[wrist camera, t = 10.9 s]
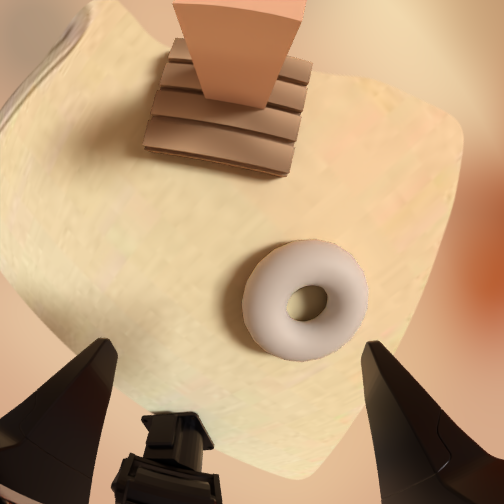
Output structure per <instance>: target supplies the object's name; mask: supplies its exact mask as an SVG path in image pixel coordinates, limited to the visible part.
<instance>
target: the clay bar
mask: <svg viewBox="0 0 504 504" xmlns="http://www.w3.org/2000/svg"><path fill="white" fill-rule="evenodd" d="M306 1H307V0H174V1H173V7H174V10H175V12H176V15H177V18H178V21H179V24H180V27H181V30H182V33H183V35H184V38H185V41H186V44H187V47H188V50H189V53H190V56H191V59H192V62H193V64H194V67H195V70H196V73H197V76H198V79H199V82H200V85H201V88H202V91H203V94H204V96H205V98H206V99H213V100H219V101H225V102H231V103H236V104H241V105H246V106H251V107H256V108H261V109H265V107H266V104H267V102H268V99H269V97H270V95H271V92H272V90H273V87H274V85H275V82H276V80H277V78H278V75H279V73H280V70H281V68H282V66H283V63H284V61H285V59H286V56H287V54H288V52H289V49H290V47H291V45H292V42H293V40H294V38H295V35H296V33H297V31H298V29H299V27H300V24H301V22H302V18H303V14H304V10H305V5H306Z"/></svg>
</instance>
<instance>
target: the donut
mask: <svg viewBox="0 0 504 504" xmlns="http://www.w3.org/2000/svg"><path fill="white" fill-rule="evenodd" d="M309 285H316V286H320V287H322V288H323V289H324V290H325V291H326V293H327V304H326V307H325V309H324V310H323V311H322V313H321V314H319V315H318V316H317V317H316V318H313V319H311V320H309V321H297V320H295V319H293V318H291V317H290V316H289V314H288V312H287V303H288V300H289V298H290V297H291V295H292V294H293V293H294V292H295V291H297V290H298V289H300V288H302V287H304V286H309ZM368 291H369V288H368V284H367V281H366V277H365V274H364V271H363V269H362V268H361V267H360V265H359V264H358V262H357V261H356V260H355V258H354V257H353V256H352V254H350V253H349V252H347V251H346V250H344V249H343V248H341V247H340V246H338V245H337V244H334V243H330V242H326V241H322V240H317V239H309V240H299V241H292V242H290V243H288V244H285V245H283V246H281V247H279V248H276V249H274V250H273V251H272V252H270V253H269V254H268V255H267V256H266V257H265V258H264V259H262V260H261V261H260V262H259V263H258V264H257V265H256V267H255V269H254V270H253V272H252V274H251V275H250V277H249V278H248V280H247V282H246V286H245V290H244V294H243V299H242V310H243V319H244V323H245V325H246V327H247V329H248V331H249V333H250V335H251V337H252V339H253V340H254V341H255V342H256V343H257V344H258V345H259V346H260V347H261V348H262V349H264V350H265V351H266V352H267V353H270V354H272V355H274V356H277V357H279V358H281V359H284V360H289V361H299V362H304V361H310V360H316V359H320V358H323V357H325V356H327V355H329V354H332V353H334V352H336V351H337V350H339V349H340V348H341V347H342V346H344V345H345V344H346V343H347V342H348V341H350V340H351V338H352V337H353V336H354V334H355V333H356V332H357V330H358V329H359V328H360V326H361V324H362V322H363V319H364V317H365V314H366V311H367V307H368Z"/></svg>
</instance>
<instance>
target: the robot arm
mask: <svg viewBox="0 0 504 504" xmlns="http://www.w3.org/2000/svg"><path fill="white" fill-rule="evenodd" d="M117 359H118V354H117V351H116V350H115V348H114V346H113V345H112V343H111V341H110V340H109V339H107V338H98V339H96V340H95V341H94V342H93V343H92V344H90V345H89V346H88V347H87V348H86V349H84V350H83V351H82V352H81V353H80V354H78V355H77V356H76V357H75V358H74V359H72V360H71V361H70V362H69V363H68V364H66V365H65V366H64V367H63V368H62V369H61V370H59V371H58V372H57V373H56V374H55V375H54V376H52V377H51V378H50V379H49V380H48V381H47V382H45V383H44V384H43V385H42V386H41V387H40V388H38V389H37V391H35V392H34V393H33V394H32V395H30V396H29V397H28V398H27V399H26V400H24V401H23V402H22V403H21V404H19V405H18V406H17V407H15V408H14V409H13V410H11V411H10V412H9V413H8V414H6V415H5V416H3V417H2V418H1V419H0V504H89V497H90V490H91V483H92V476H93V471H94V466H95V460H96V455H97V450H98V446H99V441H100V437H101V432H102V428H103V423H104V419H105V415H106V411H107V407H108V404H109V400H110V396H111V392H112V387H113V381H114V375H115V370H116V364H117ZM361 366H362V375H363V385H364V395H365V403H366V409H367V413H368V418H369V423H370V429H371V434H372V440H373V445H374V451H375V457H376V464H377V470H378V477H379V485H380V493H381V502H382V504H504V460H503V459H499V458H496V457H494V456H492V455H490V454H488V453H487V452H486V451H485V450H483V449H482V448H481V447H480V446H479V445H478V444H477V443H476V442H475V441H474V440H472V439H471V438H470V437H469V436H468V435H467V434H466V433H465V432H464V431H463V430H461V428H459V427H458V426H457V425H456V424H455V422H453V420H452V419H451V418H450V417H449V416H448V415H447V414H446V413H445V412H444V410H442V409H441V407H440V406H439V405H438V404H437V403H436V402H435V401H434V400H433V398H432V397H431V396H430V395H429V394H428V393H427V392H426V391H425V389H424V388H423V387H422V386H421V385H420V384H419V383H418V382H417V381H416V380H415V379H414V378H413V376H412V375H411V374H410V373H409V372H408V371H407V370H406V369H405V368H404V367H403V366H402V365H401V364H400V362H399V361H398V360H397V359H396V358H395V357H394V356H393V355H392V354H391V353H390V352H389V351H388V350H387V349H386V347H385V346H384V345H383V344H382V343H381V342H380V341H377V340H376V341H368V342H367V343H366V345H365V348H364V351H363V353H362V356H361ZM141 421H142V423H143V424H144V425H145V427H146V428H147V430H148V431H149V433H148V437H147V440H146V448H145V451H144V455H143V457H139V456H136V455H135V454H133V453H130V454H129V457H128V458H126V459H123V461H122V464H121V467H120V469H119V472H118V474H117V475H116V477H115V479H114V481H113V482H112V485H111V489H112V491H113V492H114V493H115V498H116V499H115V500H116V501H115V504H222V496H221V488H220V481H219V475H218V474H208V473H202V472H201V469H202V457H203V450H212V449H214V444H213V442H212V440H211V438H210V437H209V435H208V433H207V431H206V429H205V427H204V426H203V424H202V422H201V420H200V418H199V416H198V415H197V414H196V413H193V412H191V413H180V414H167V415H147V416H142V419H141Z"/></svg>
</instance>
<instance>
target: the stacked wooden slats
mask: <svg viewBox="0 0 504 504" xmlns="http://www.w3.org/2000/svg"><path fill="white" fill-rule="evenodd" d="M168 58H169V60H170V62H169V63H166V65H165V68H164V71H163V74H162V77H161V80H160V83H159V85H160V86H161V89H160V90H157V92H156V96H155V99H154V102H153V106H152V109H151V113H150V114H151V115H152V116H153V117H152V120H148V124H147V128H146V132H145V136H144V140H143V146H145V150H147V151H150V152H156V153H163V154H169V155H176V156H182V157H188V158H194V159H199V160H205V161H210V162H216V163H221V164H226V165H231V166H236V167H240V168H245V169H250V170H254V171H259V172H263V173H267V174H272V175H276V176H280V177H287V173H289V172H290V167H291V163H292V158H293V154H294V149H295V147H294V142H296V140H297V136H298V131H299V127H300V122H301V116H300V115H301V112H302V111H303V108H304V103H305V98H306V94H307V89H308V88H306V86H307V85H308V83H309V79H310V74H311V70H312V65H313V63H312V62H309V61H305V60H301V59H298V58H295V57H291V56H286V59H285V61H284V63H283V66H282V68H281V70H280V73H279V75H278V78H277V80H276V82H275V85H274V87H273V90H272V92H271V95H270V97H269V99H268V102H267V104H266V107H265V109H261V108H256V107H251V106H246V105H241V104H236V103H231V102H225V101H219V100H213V99H206V98H205V96H204V94H203V91H202V88H201V85H200V82H199V79H198V76H197V73H196V70H195V67H194V64H193V62H192V59H191V56H190V53H189V50H188V47H187V44H186V41H185V39H183V38H175V40H174V43H173V46H172V48H171V51H170V54H169V56H168Z"/></svg>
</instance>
